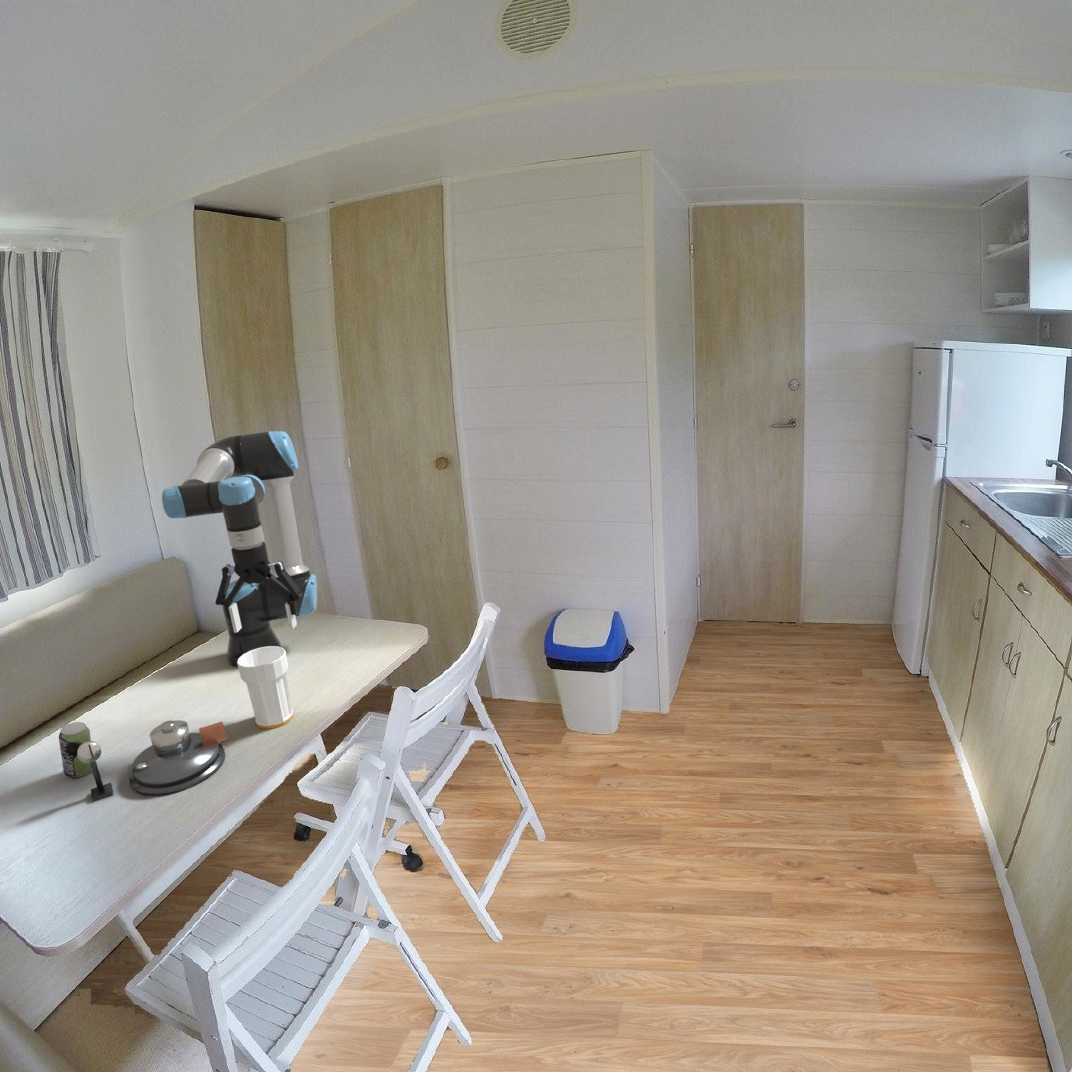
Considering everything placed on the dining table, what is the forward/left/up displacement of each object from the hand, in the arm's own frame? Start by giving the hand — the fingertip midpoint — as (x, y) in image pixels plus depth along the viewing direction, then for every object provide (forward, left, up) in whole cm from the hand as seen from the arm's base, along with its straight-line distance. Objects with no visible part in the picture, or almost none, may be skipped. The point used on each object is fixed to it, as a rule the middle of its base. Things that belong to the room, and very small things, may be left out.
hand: (265, 628), depth 183 cm
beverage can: (-7, -44, -25) cm, 51 cm away
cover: (+1, -25, -21) cm, 33 cm away
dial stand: (+6, -41, -25) cm, 48 cm away
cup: (-2, -2, -25) cm, 25 cm away
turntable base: (+6, -25, -25) cm, 36 cm away
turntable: (+6, -24, -24) cm, 34 cm away
